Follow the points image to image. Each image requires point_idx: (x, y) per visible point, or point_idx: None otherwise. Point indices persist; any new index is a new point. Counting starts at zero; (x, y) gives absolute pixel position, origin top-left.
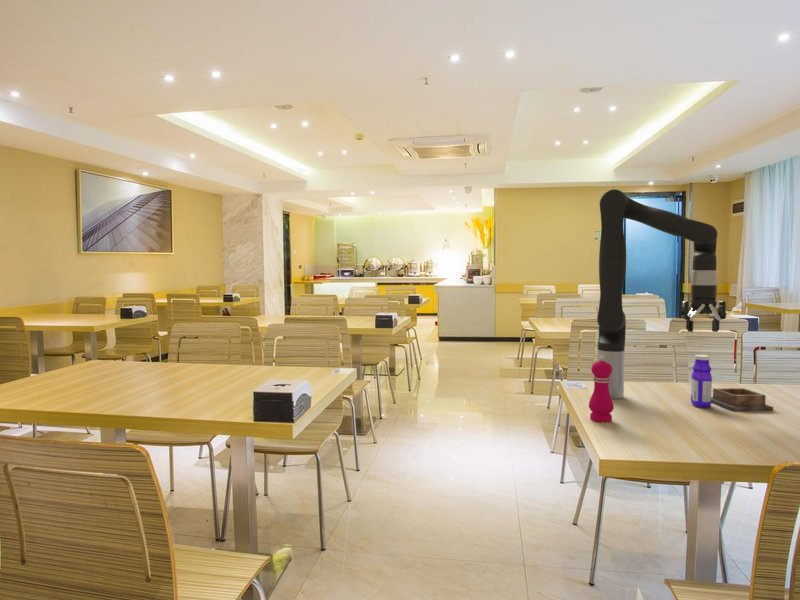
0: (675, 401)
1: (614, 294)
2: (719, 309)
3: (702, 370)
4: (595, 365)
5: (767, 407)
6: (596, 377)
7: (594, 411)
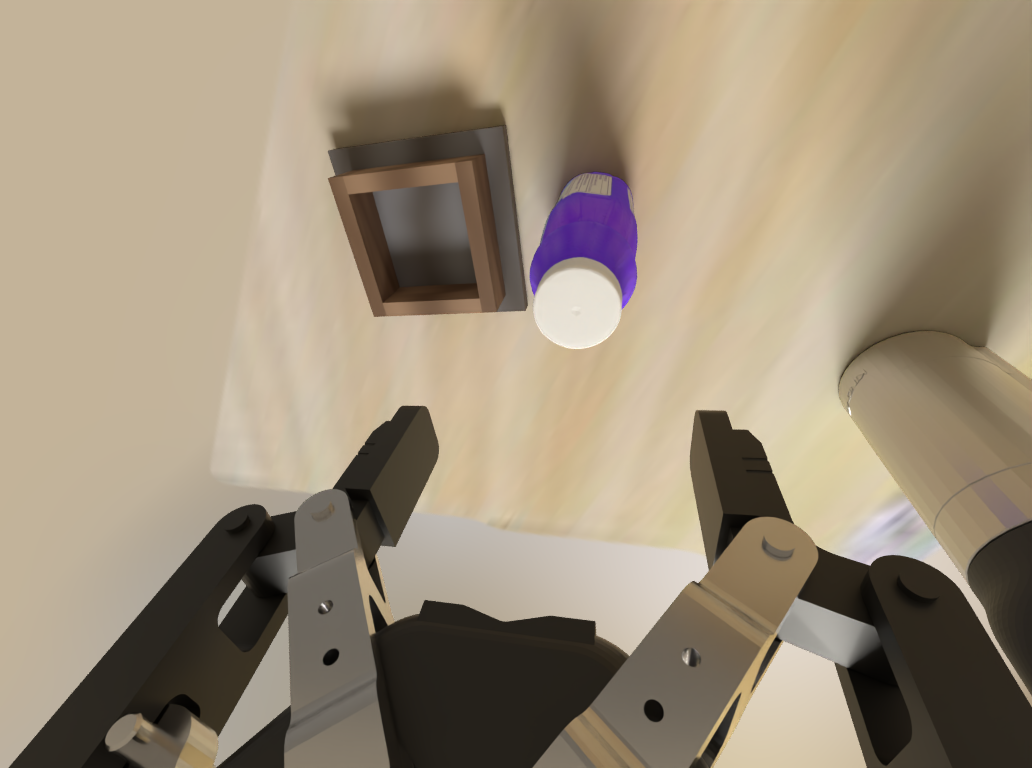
0: (659, 292)
1: None
2: (216, 678)
3: (606, 225)
4: None
5: (350, 147)
6: None
7: None
